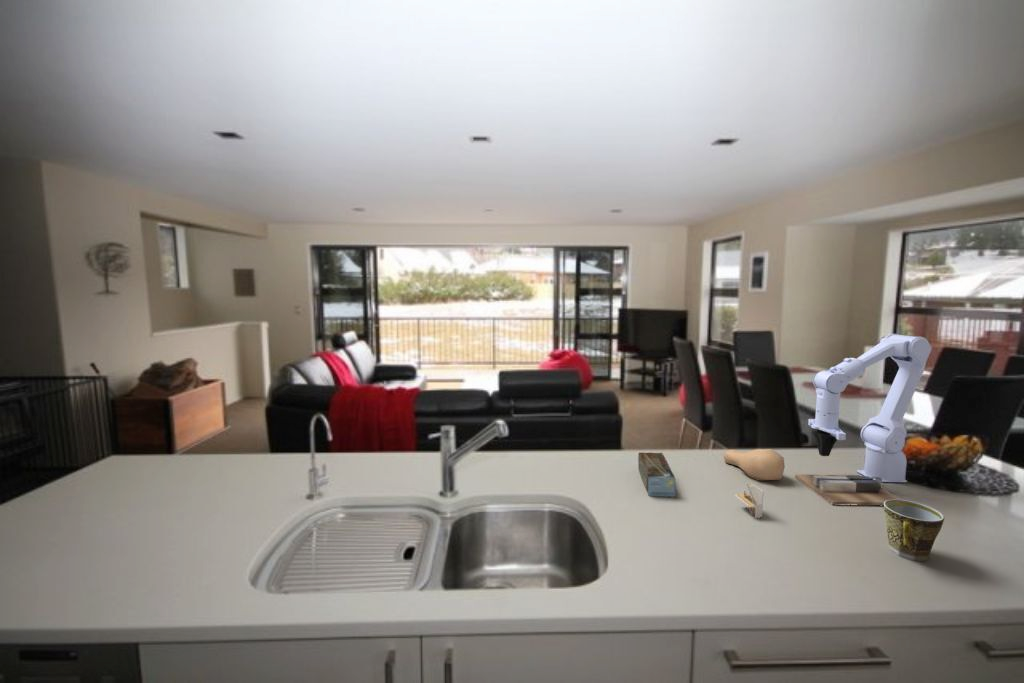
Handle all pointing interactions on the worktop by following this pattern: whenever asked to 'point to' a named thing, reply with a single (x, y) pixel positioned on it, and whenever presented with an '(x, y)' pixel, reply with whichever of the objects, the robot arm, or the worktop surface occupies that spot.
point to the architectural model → (753, 500)
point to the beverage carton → (656, 474)
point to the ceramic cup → (911, 528)
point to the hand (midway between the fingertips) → (824, 455)
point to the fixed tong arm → (849, 486)
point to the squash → (758, 463)
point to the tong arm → (845, 479)
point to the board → (847, 493)
